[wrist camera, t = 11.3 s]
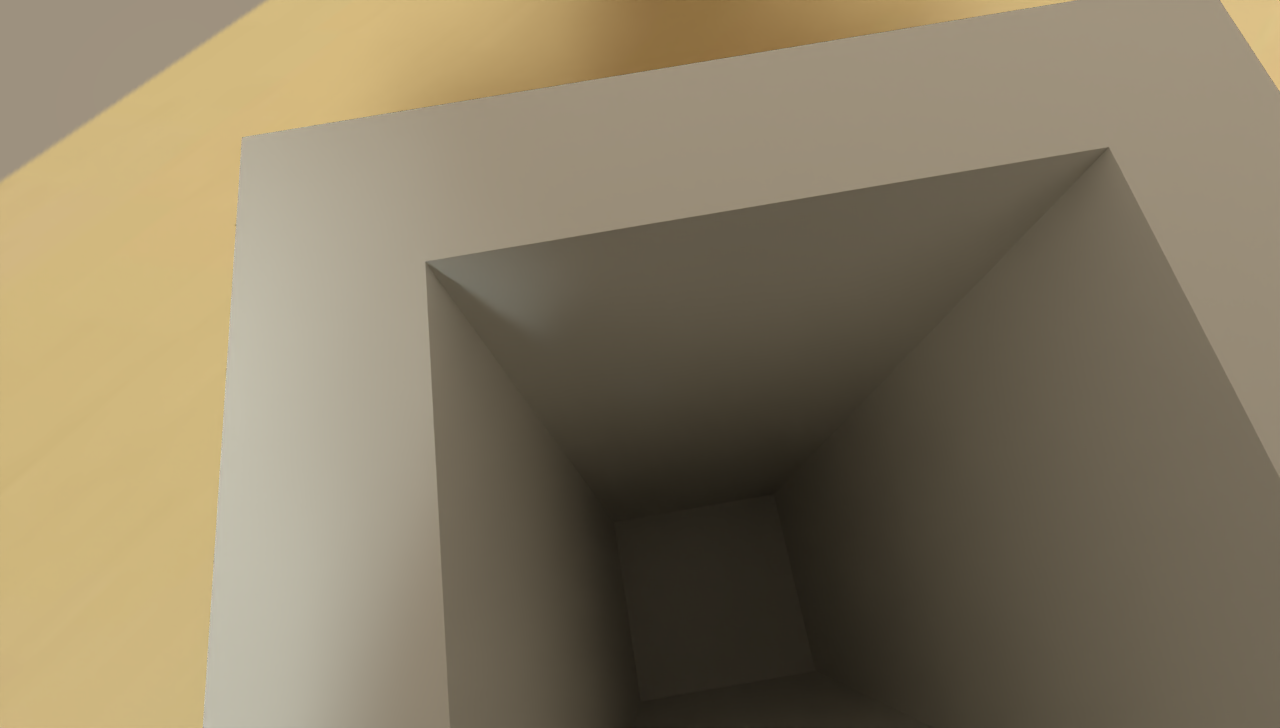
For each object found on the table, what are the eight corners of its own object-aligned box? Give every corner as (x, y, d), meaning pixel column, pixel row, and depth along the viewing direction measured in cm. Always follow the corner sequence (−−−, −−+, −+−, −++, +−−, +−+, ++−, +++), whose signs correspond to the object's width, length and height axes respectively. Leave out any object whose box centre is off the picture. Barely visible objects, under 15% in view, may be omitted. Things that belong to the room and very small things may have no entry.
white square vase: (866, 710, 13) (2158, 1435, 2) (603, 757, 13) (126, 1844, 2) (799, 451, 15) (1206, -21, 4) (569, 490, 15) (242, 137, 4)
